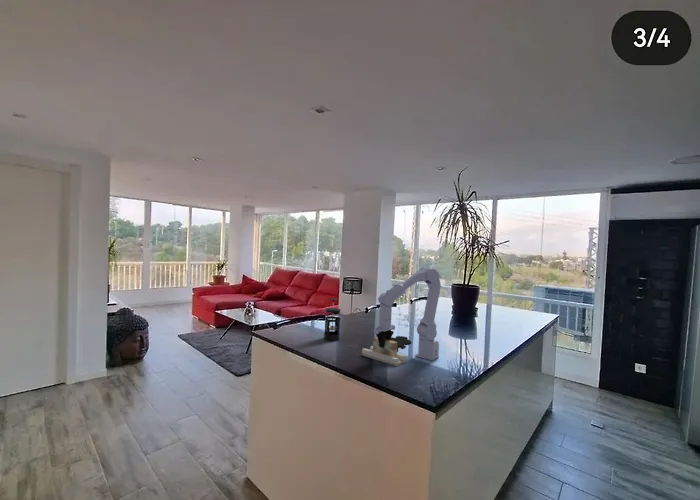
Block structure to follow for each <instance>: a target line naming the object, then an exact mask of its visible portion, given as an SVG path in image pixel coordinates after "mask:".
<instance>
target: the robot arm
mask: <svg viewBox="0 0 700 500" xmlns="http://www.w3.org/2000/svg"><path fill="white" fill-rule="evenodd" d="M440 275H441V274H440V273H439V271H437V269H435V268H428V267H421V268H419V269H418V270H416V271H415V273H413V274H412V275H410V277H408V278H407V279H406V280H404V281H403V282H402V283H394V284H393V287H391V288H390V289H387V290H386V291H385V292H383V293H381V294H380V295H379V297H378V298H377V299H378V302H379V320H378V325H377V326H376V328H373V334H375V336H376V337H377V338H378V341H379V346H380V347H382V348H384V345H385V339H388V340H390V339H391V338H392V337H393V335H394V332H395V331H393V330H395V329H396V325H394V324H392V311H393V309H392V308H393V305H394V303H395V302H396V300H397V299H399V298H400V297H402V296H403V295H405V294H406V291H407V290H408V289H409V288H410V287H412V286H414V285H415V284H416V283H418V282H425V284H426V285H427V286H428V290H427V291H428V292H427V298H426V303H425V306H424V311H423V317H422V319H420V321H419V324H418V325H417V327H416V332H417V334H418V351H417V353H416V354H414V356H415V357H418V358H422V359H425V360H428V361H434V360H436V359H438V358H440V356H439V350H440V343H439V341H438V340H435V339H436V337H437V324H436V321H435V318H436V313H437V308H438V303H439V298H440V291H441V287H442V286H441V285H442V284H441V280H440Z"/></svg>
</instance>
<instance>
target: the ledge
mask: <svg viewBox="0 0 700 500" xmlns="http://www.w3.org/2000/svg"><path fill="white" fill-rule="evenodd" d="M361 349H362V350H361V356H363V357H367V358H369V359H373V360H375V361H379V362H381V363H382V362H383V363H385V364H388V365H391V366H393V367H394V366H395V367H397V366H400V365H402V364H404V363H406V362H407V355H405V354H402V353H398V352H397V356H395V357H392V356H389V355H385V354H382V353H379V352H376V351H373V345H371V346H370V347H369V349H368V348H361Z"/></svg>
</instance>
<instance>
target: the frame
mask: <svg viewBox="0 0 700 500" xmlns="http://www.w3.org/2000/svg"><path fill="white" fill-rule="evenodd" d="M372 346H373V351H376V352H379V353H382V354H385V355H389V356H392V357H395V356H397V353H398V352H397V342H395V341H391V340H388V339H385V345H384V348H382V347H380V346H379V341H378V338H377V336H375V337H373V338H372Z"/></svg>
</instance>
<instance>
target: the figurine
mask: <svg viewBox="0 0 700 500" xmlns="http://www.w3.org/2000/svg"><path fill="white" fill-rule="evenodd" d="M390 340H391V341H395V342H397V353H398V352H399V349H402V350H404V349H406V348H407V346H409V345H411V344H412V341H411V340H410V339H409V338H408V337H407V336H403V335H401V336H400V335H397V336H395V337H393V336H392V337H391V339H390Z"/></svg>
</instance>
